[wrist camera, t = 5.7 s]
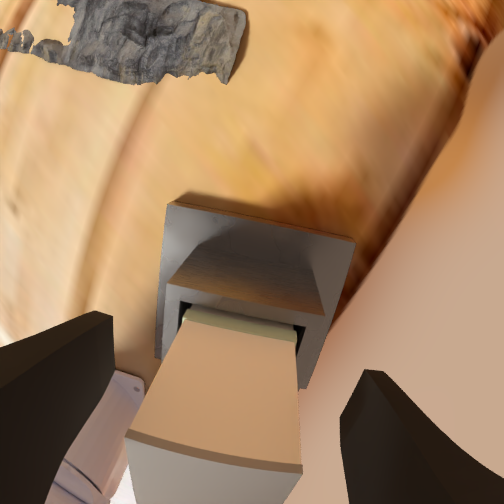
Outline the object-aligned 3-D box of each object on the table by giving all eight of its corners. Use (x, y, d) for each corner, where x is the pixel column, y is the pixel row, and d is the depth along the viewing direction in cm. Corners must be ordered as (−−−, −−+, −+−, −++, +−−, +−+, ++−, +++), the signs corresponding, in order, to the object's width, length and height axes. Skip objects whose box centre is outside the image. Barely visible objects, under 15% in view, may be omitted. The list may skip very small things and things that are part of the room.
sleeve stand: (305, 379, 20) (311, 447, 14) (159, 349, 20) (126, 409, 15) (352, 238, 17) (385, 280, 11) (173, 201, 17) (125, 226, 11)
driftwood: (266, 25, 14) (264, 10, 12) (209, 126, 16) (200, 122, 14) (34, -21, 13) (20, -28, 11) (-3, 50, 15) (-19, 47, 13)
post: (272, 380, 15) (264, 530, 7) (189, 363, 16) (134, 503, 7) (294, 308, 14) (305, 472, 6) (198, 288, 14) (121, 434, 6)
